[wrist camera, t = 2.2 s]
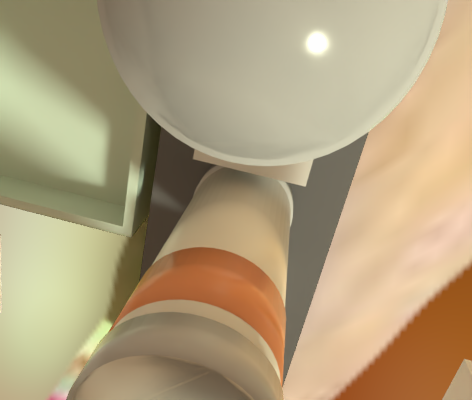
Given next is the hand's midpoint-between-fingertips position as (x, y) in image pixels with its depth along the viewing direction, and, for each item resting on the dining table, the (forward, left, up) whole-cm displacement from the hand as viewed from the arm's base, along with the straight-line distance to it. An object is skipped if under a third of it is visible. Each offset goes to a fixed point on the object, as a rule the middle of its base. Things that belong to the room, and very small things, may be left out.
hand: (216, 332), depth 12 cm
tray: (-11, +3, -12) cm, 17 cm away
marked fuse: (0, 0, -9) cm, 9 cm away
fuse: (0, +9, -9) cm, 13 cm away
